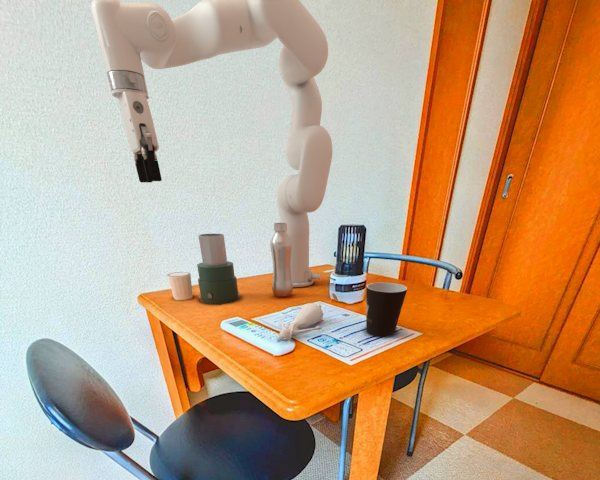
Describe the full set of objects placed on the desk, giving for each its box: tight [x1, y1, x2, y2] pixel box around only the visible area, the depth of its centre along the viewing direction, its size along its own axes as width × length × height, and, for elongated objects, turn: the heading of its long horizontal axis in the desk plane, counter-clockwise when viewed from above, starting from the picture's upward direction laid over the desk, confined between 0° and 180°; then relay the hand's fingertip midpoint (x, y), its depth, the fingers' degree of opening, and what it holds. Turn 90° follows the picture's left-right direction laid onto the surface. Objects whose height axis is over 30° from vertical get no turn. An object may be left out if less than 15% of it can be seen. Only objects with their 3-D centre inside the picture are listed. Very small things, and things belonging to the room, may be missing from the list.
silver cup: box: [197, 233, 228, 266], centre depth 88 cm, size 7×7×8 cm
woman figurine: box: [277, 302, 324, 342], centre depth 73 cm, size 12×4×18 cm
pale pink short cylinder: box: [166, 271, 194, 301], centre depth 95 cm, size 7×7×7 cm
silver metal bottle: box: [269, 222, 294, 298], centre depth 92 cm, size 6×7×20 cm
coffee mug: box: [365, 281, 408, 338], centre depth 71 cm, size 12×9×10 cm
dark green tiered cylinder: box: [196, 260, 241, 306], centre depth 93 cm, size 12×12×10 cm
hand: (150, 181), depth 79 cm, fingers open, 9 cm apart
